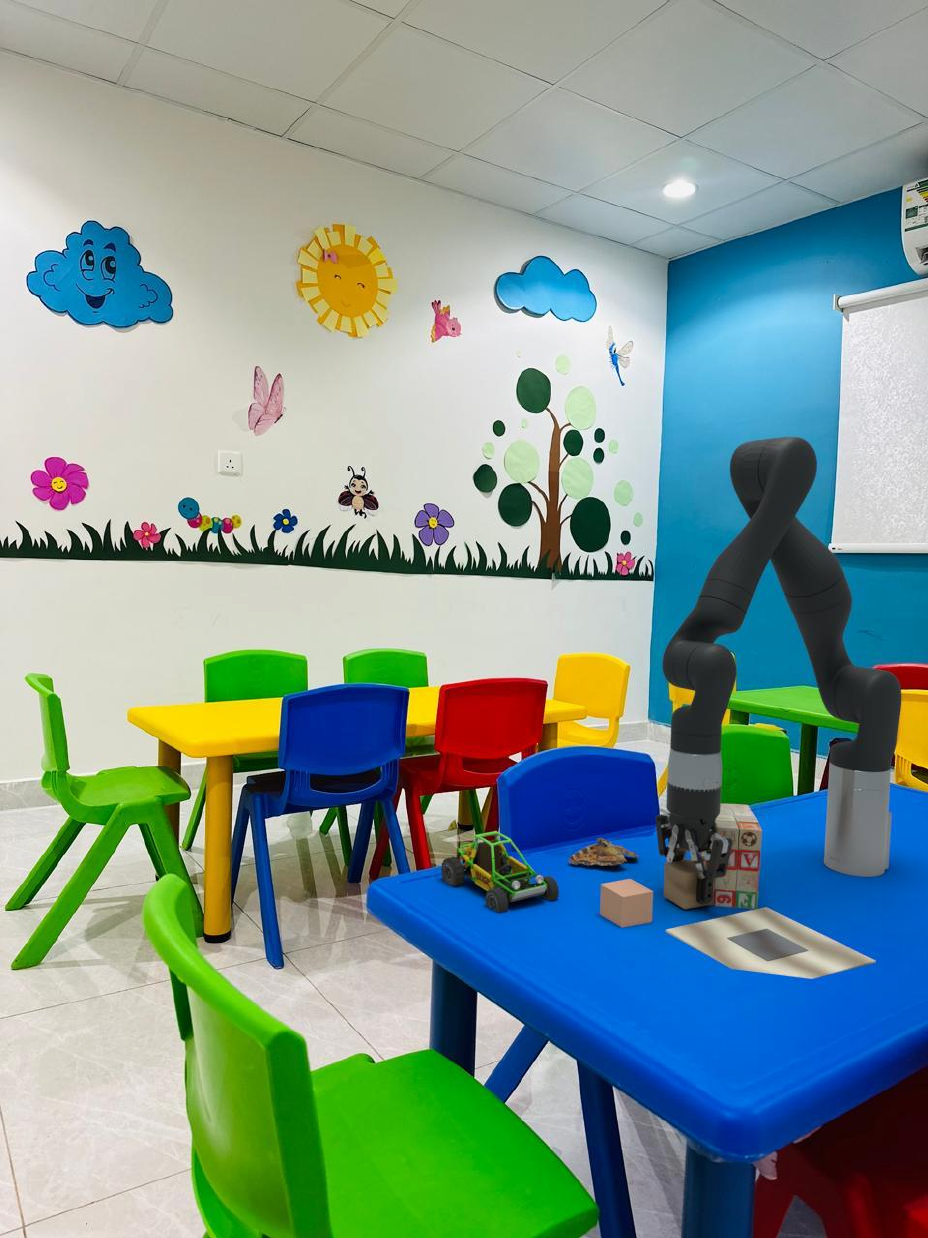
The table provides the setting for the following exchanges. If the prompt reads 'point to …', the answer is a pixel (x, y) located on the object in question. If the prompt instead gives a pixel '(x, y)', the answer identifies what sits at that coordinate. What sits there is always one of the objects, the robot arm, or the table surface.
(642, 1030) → the table surface
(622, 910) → the terracotta cube
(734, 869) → the stack of blocks
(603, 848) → the butterfly model
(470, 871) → the motor vehicle
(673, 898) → the walnut cube
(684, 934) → the cream flat pad
